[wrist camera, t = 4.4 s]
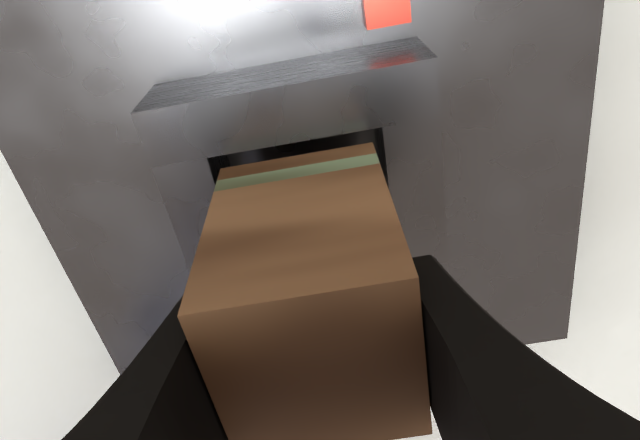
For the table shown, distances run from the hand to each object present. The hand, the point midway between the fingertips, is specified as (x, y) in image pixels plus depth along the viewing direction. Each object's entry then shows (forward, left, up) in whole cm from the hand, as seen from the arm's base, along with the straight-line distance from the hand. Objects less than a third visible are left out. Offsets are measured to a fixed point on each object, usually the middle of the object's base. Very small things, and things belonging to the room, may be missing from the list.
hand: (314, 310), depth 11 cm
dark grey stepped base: (0, 0, -7) cm, 7 cm away
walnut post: (0, 0, -4) cm, 4 cm away
